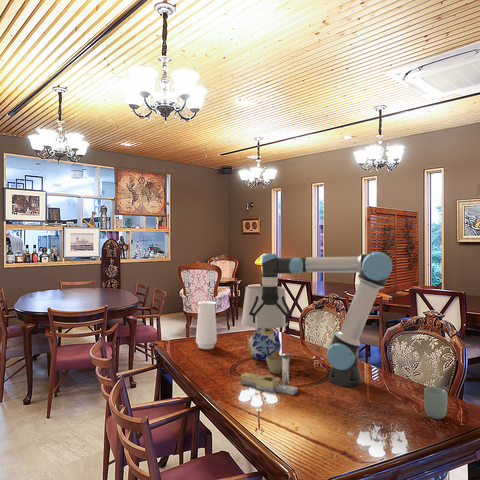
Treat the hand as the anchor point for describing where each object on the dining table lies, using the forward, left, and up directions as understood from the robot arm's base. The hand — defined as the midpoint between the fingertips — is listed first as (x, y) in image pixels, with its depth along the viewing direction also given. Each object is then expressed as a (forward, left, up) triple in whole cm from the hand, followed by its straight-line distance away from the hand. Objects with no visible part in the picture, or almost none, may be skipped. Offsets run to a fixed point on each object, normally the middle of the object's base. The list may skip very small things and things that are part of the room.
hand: (270, 330), depth 184 cm
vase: (+59, -33, -24) cm, 72 cm away
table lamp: (+19, -34, -24) cm, 46 cm away
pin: (-9, +2, -24) cm, 25 cm away
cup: (-71, +4, -24) cm, 75 cm away
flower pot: (+2, -12, -24) cm, 27 cm away
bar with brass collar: (-4, +10, -24) cm, 26 cm away
